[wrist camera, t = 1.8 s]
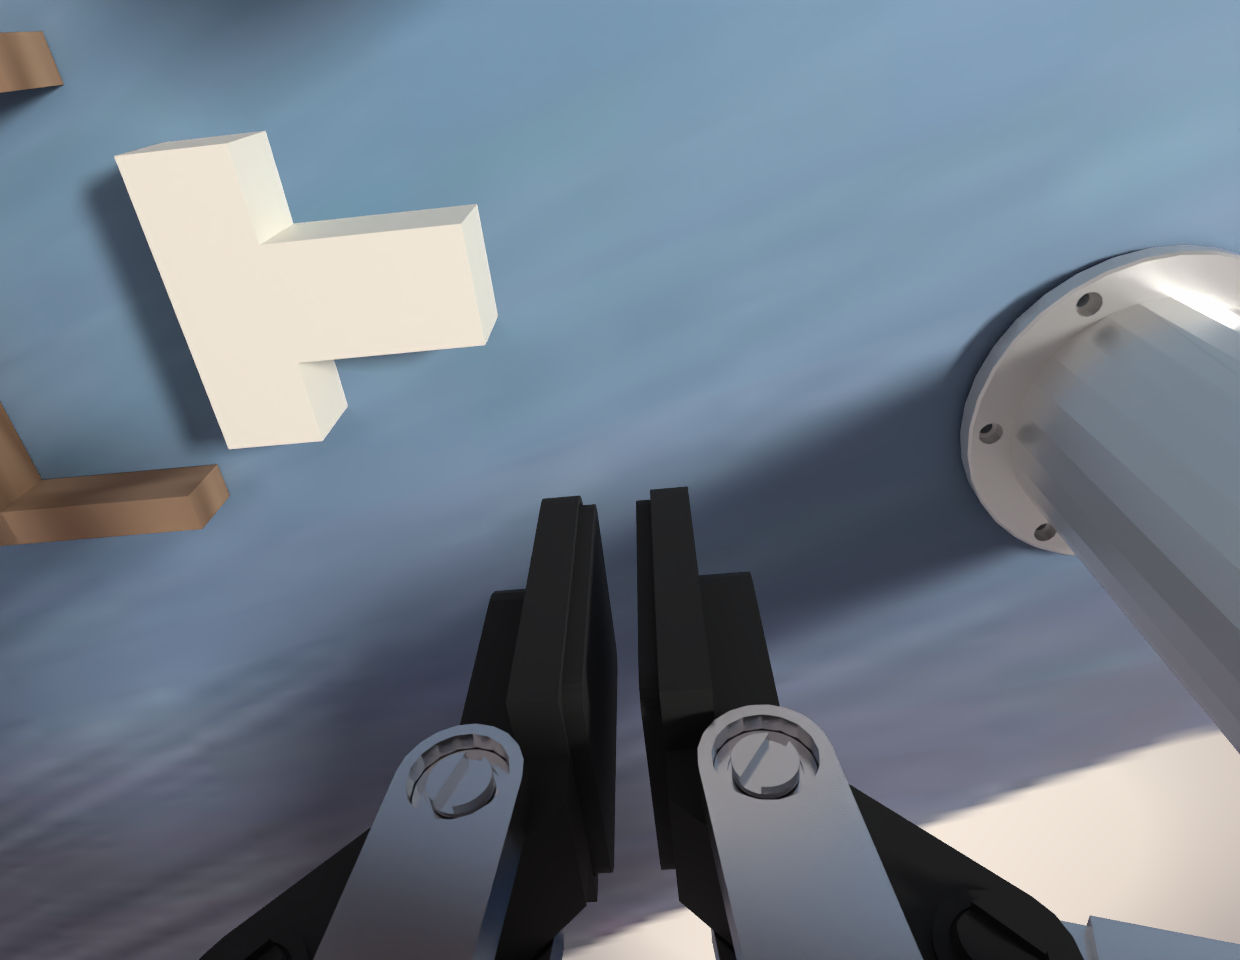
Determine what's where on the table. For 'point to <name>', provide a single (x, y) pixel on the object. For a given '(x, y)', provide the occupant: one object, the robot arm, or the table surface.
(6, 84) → the brown u-shaped bracket
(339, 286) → the t block
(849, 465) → the table surface
